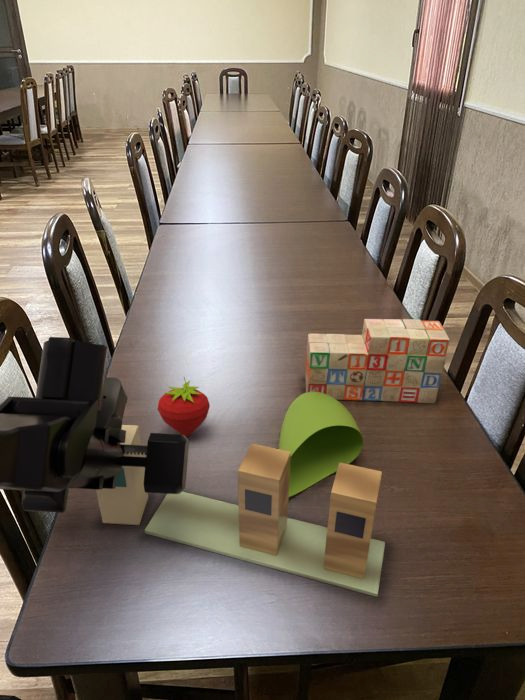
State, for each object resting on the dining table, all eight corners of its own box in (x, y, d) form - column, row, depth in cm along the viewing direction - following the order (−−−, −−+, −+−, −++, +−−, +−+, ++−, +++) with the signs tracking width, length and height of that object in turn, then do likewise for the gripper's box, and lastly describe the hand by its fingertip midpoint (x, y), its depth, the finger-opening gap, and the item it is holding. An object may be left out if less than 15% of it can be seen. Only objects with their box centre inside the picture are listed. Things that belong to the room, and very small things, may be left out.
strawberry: (163, 422, 83) (157, 368, 78) (212, 422, 84) (209, 368, 78) (158, 448, 78) (151, 392, 73) (210, 447, 78) (207, 391, 73)
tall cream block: (139, 525, 66) (127, 452, 60) (102, 523, 66) (87, 450, 60) (148, 497, 70) (138, 425, 64) (113, 495, 70) (100, 423, 64)
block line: (377, 597, 58) (392, 516, 52) (144, 533, 65) (132, 455, 59) (384, 545, 64) (399, 466, 57) (170, 491, 71) (162, 416, 65)
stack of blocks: (306, 400, 89) (310, 335, 82) (304, 378, 94) (308, 316, 88) (436, 403, 88) (450, 338, 82) (427, 381, 94) (440, 319, 87)
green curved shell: (372, 448, 65) (341, 368, 83) (272, 466, 65) (263, 383, 83) (378, 497, 68) (347, 410, 86) (283, 514, 69) (272, 424, 87)
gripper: (179, 377, 52) (202, 400, 67) (-9, 369, 53) (56, 394, 68) (169, 496, 49) (195, 492, 65) (-29, 485, 50) (43, 484, 65)
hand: (122, 462), depth 66 cm, fingers open, 9 cm apart
